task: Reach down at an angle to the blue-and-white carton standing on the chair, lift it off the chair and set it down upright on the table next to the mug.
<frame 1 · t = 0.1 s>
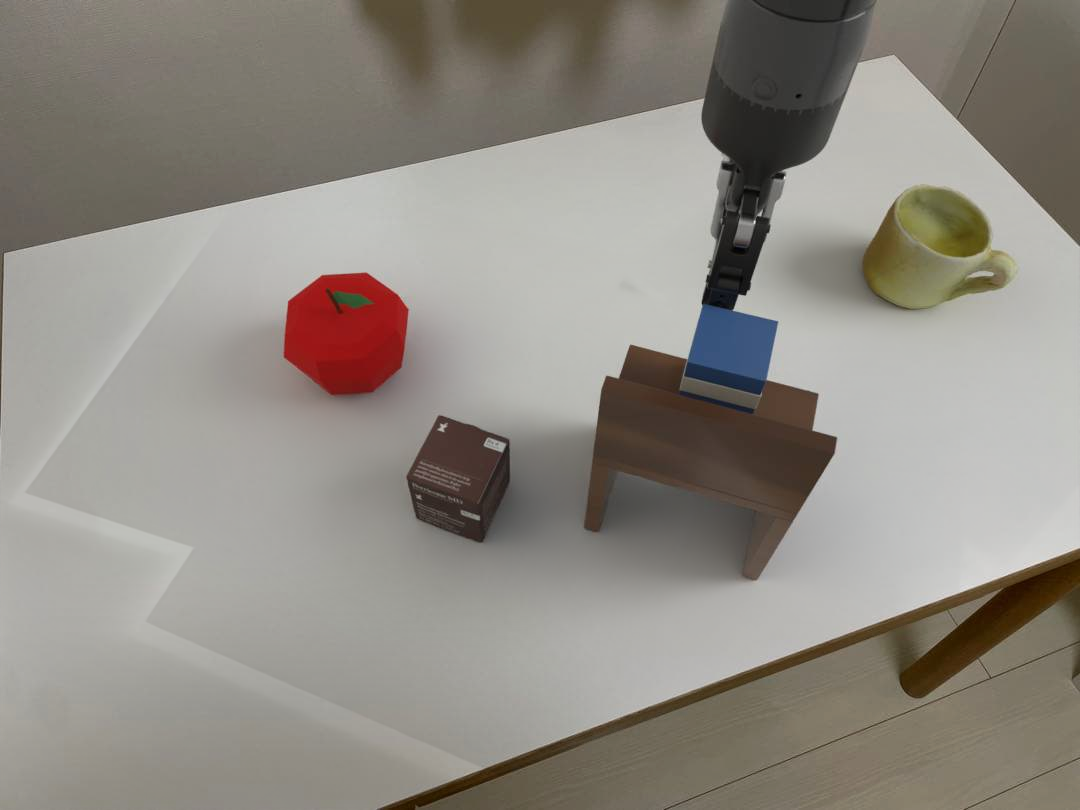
hand: (724, 259, 60), 18 cm above the table, tool pointing down, fingers open, 8 cm apart
carton: (714, 400, 60), point 12 cm above the table, touching gripper, chair
chair: (682, 500, 69), on the table
mug: (921, 288, 82), on the table
box: (464, 501, 69), on the table
apple: (356, 363, 76), on the table
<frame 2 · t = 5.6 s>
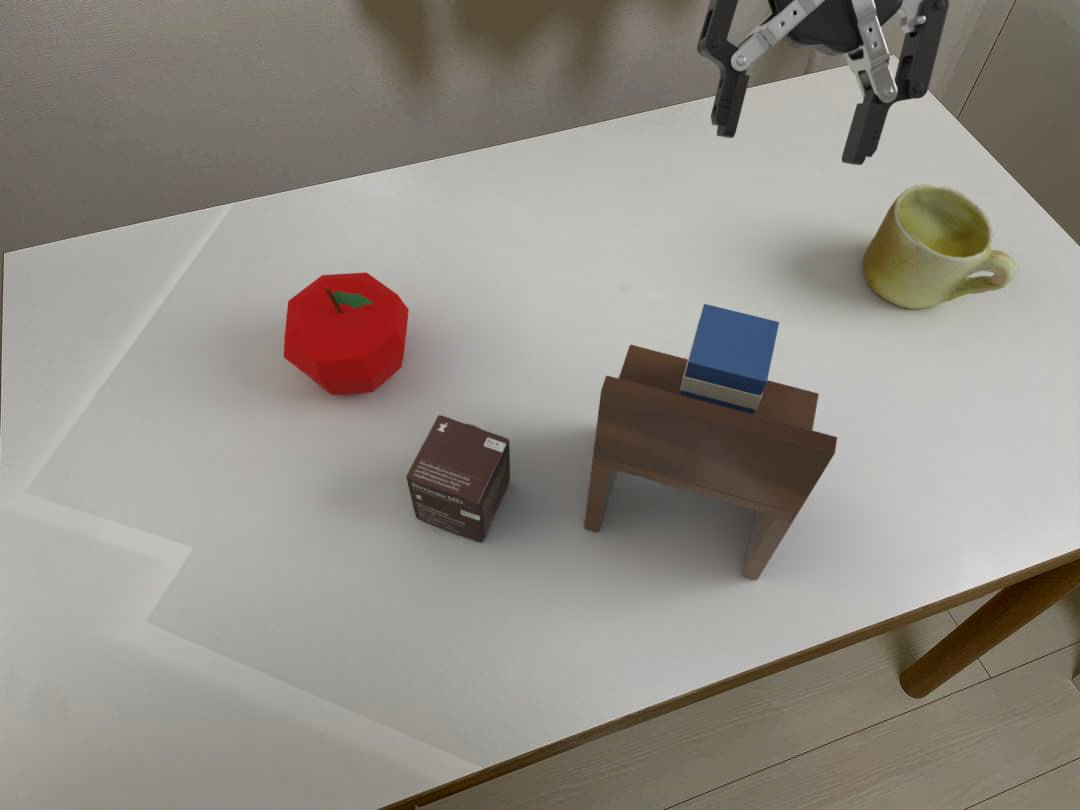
hand: (789, 150, 54), 26 cm above the table, tool tilted 40°, fingers open, 8 cm apart
carton: (714, 400, 60), point 12 cm above the table, touching chair
everything else where it was.
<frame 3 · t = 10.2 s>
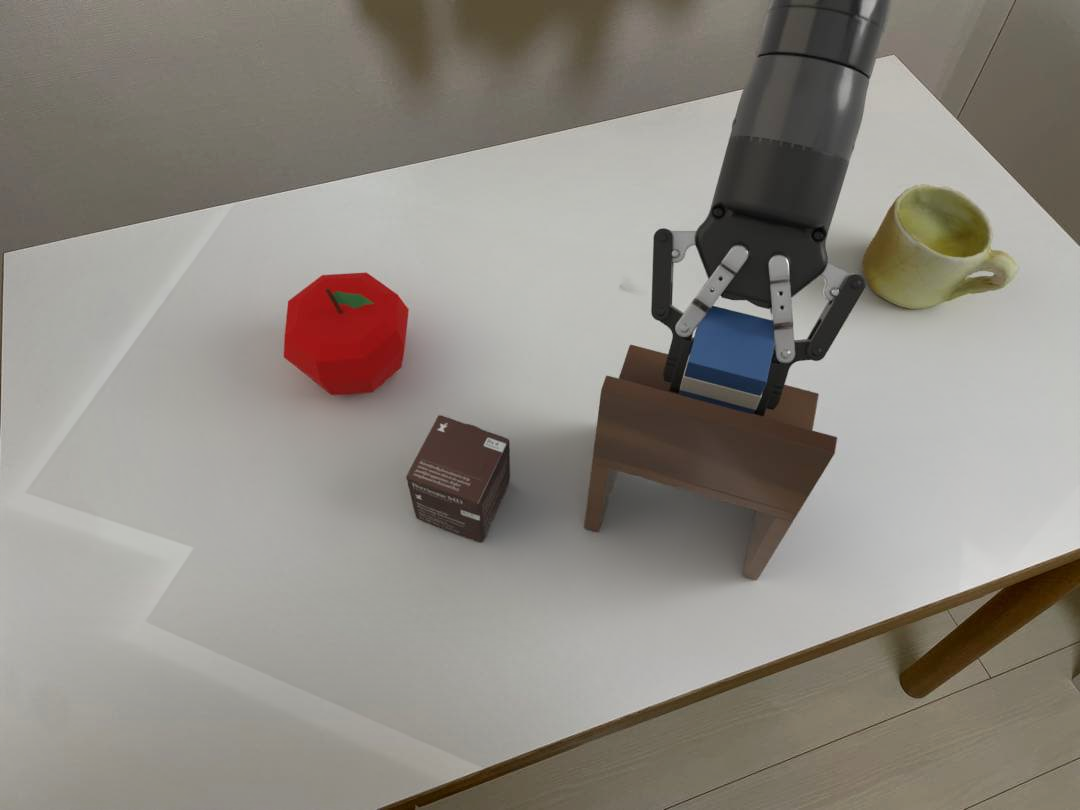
hand: (716, 400, 57), 15 cm above the table, tool tilted 45°, fingers closed on carton, 5 cm apart
carton: (714, 400, 60), point 12 cm above the table, touching gripper, chair
everything else where it was.
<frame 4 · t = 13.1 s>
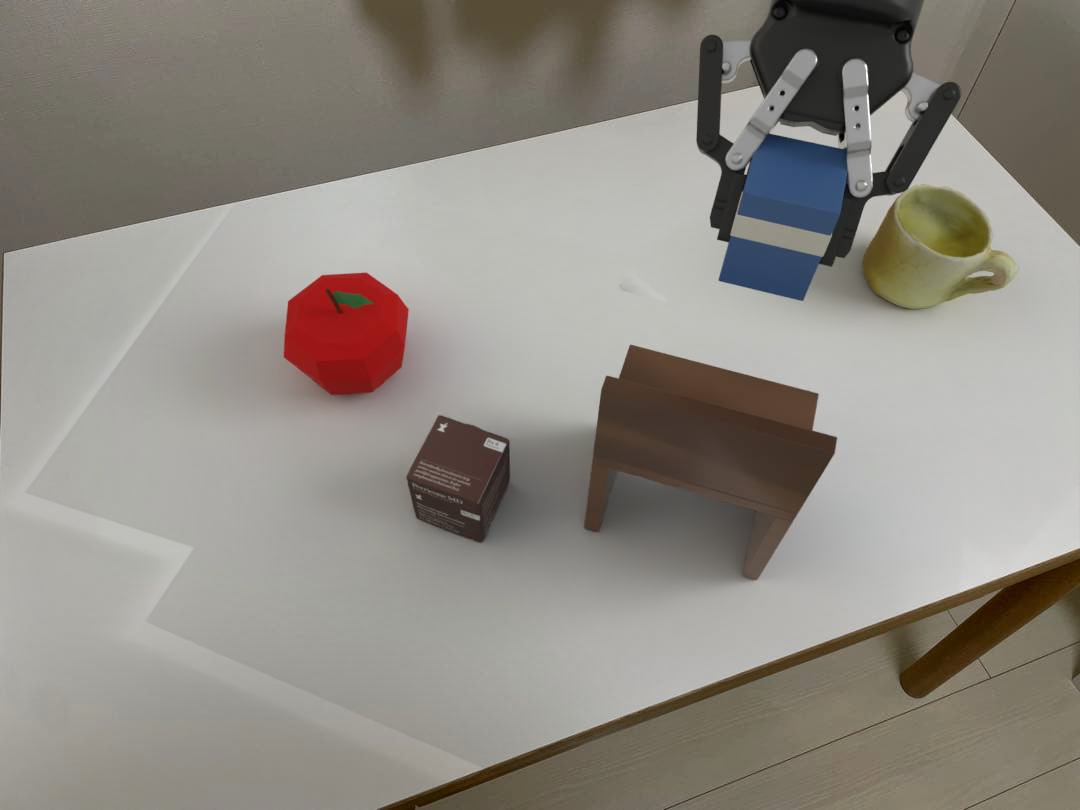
hand: (773, 251, 47), 27 cm above the table, tool tilted 45°, fingers closed on carton, 5 cm apart
carton: (767, 260, 51), point 24 cm above the table, touching gripper
everything else where it was.
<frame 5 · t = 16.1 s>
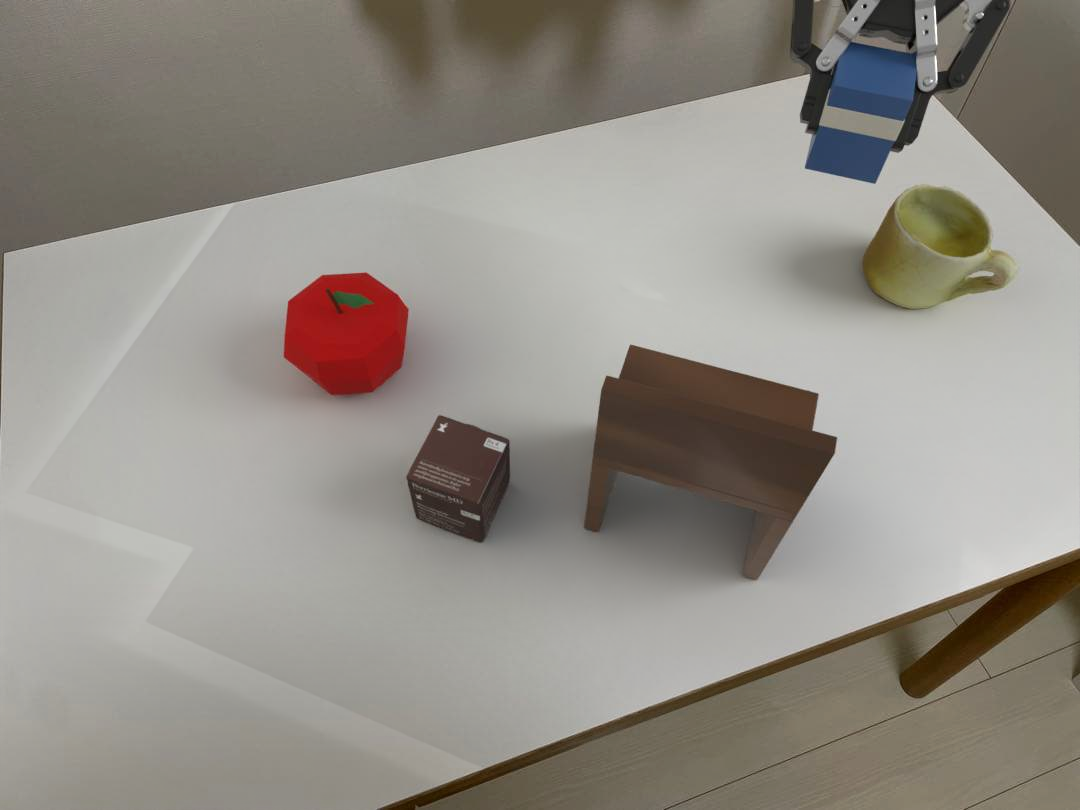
hand: (853, 140, 58), 23 cm above the table, tool tilted 45°, fingers closed on carton, 5 cm apart
carton: (843, 153, 61), point 21 cm above the table, touching gripper
everything else where it was.
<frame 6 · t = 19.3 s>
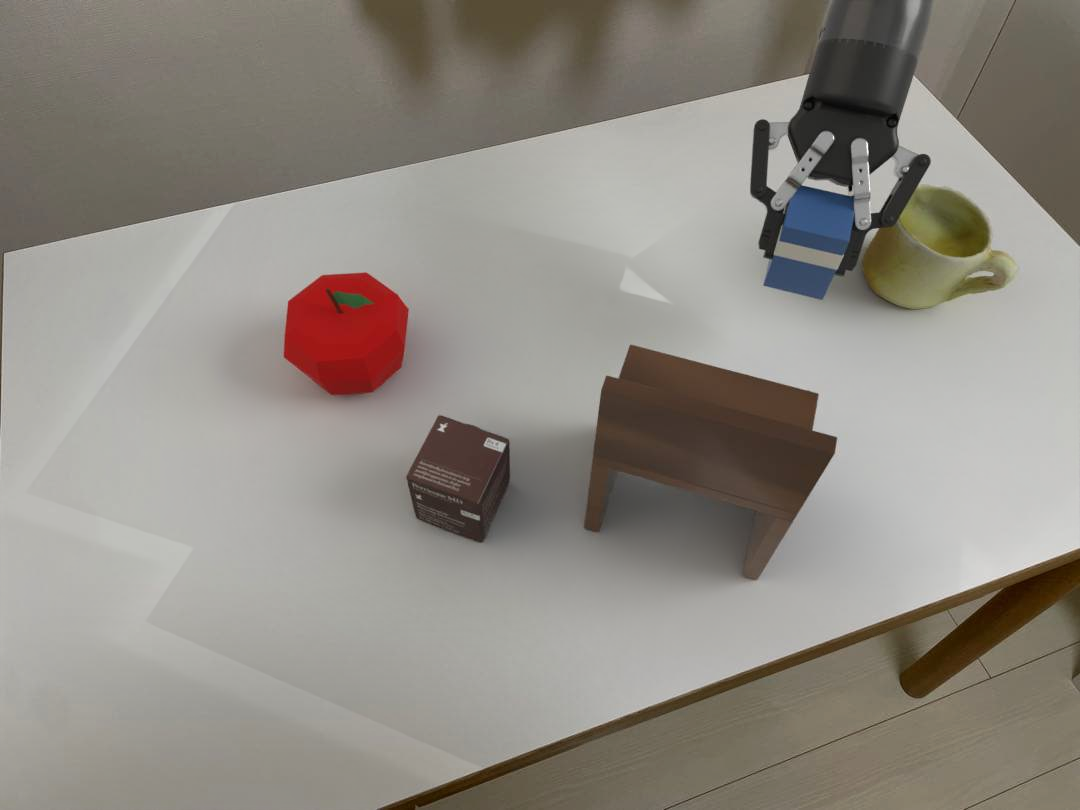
hand: (802, 266, 69), 11 cm above the table, tool tilted 45°, fingers closed on carton, 5 cm apart
carton: (797, 271, 72), point 8 cm above the table, touching gripper
everything else where it was.
when the fingers open (3 cm above the table, at t = 22.0 s): carton stays where it is, on the table.
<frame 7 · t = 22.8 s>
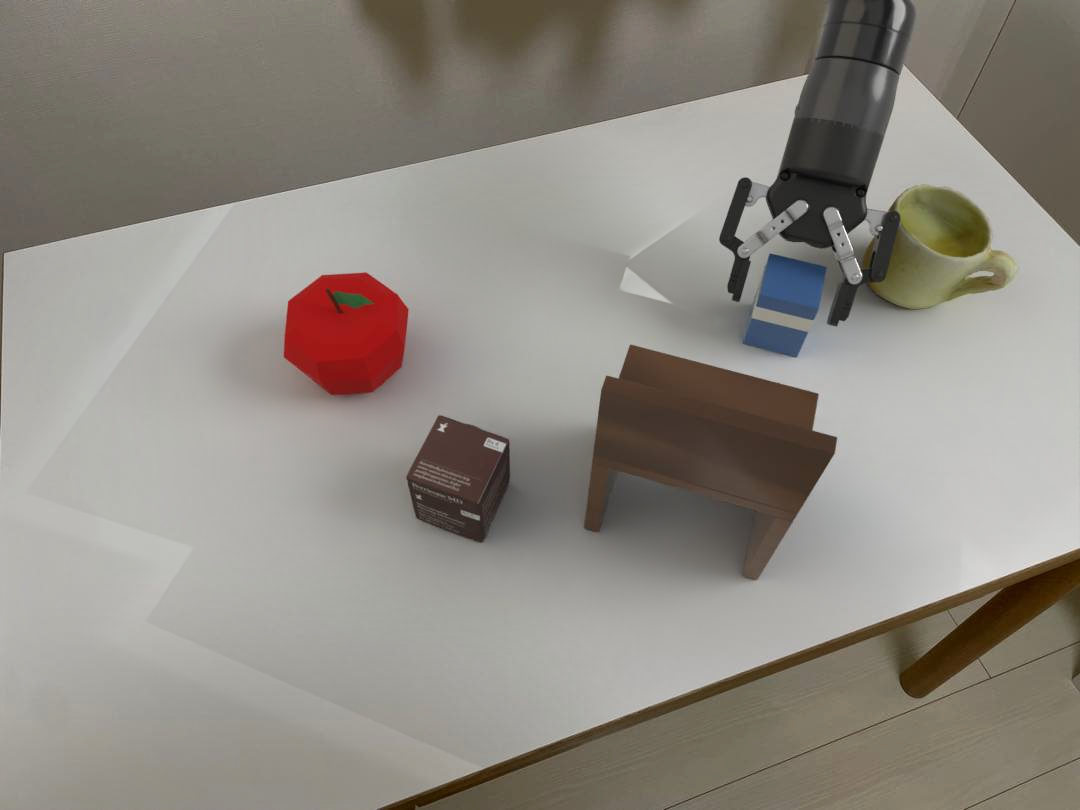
hand: (783, 313, 75), 4 cm above the table, tool tilted 45°, fingers open, 8 cm apart
carton: (774, 330, 79), on the table
everything else where it was.
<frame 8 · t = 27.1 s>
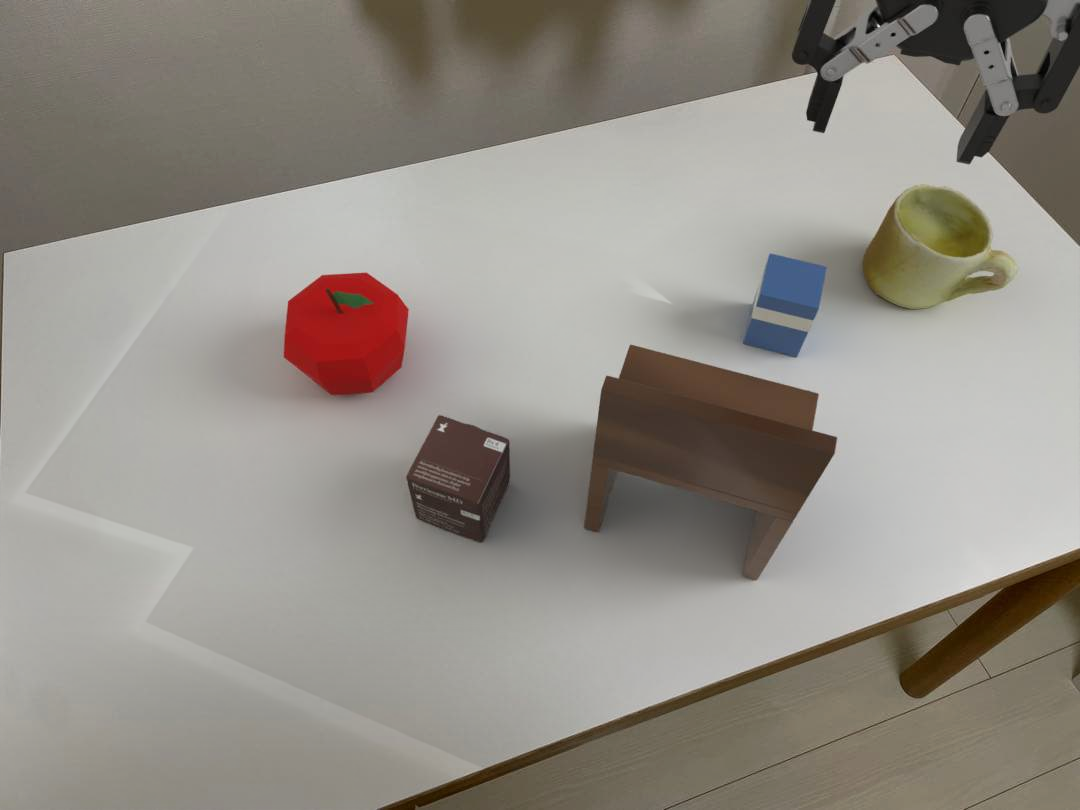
hand: (890, 139, 51), 28 cm above the table, tool pointing down, fingers open, 8 cm apart
nothing on the table moved.
at the end: carton on the table; carton 16.1 cm from the mug (horizontally); carton tilted 0° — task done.
